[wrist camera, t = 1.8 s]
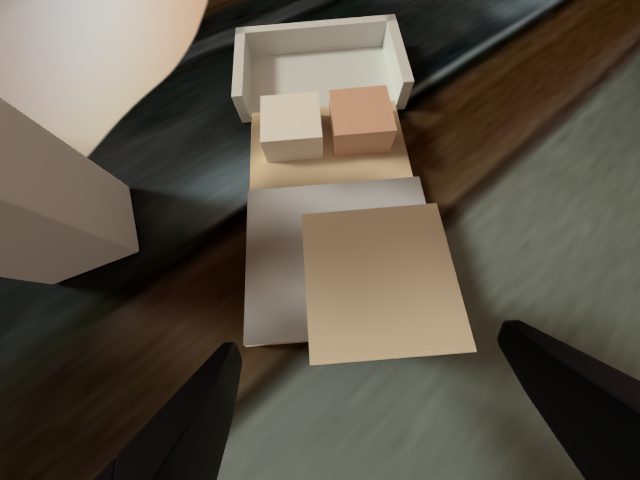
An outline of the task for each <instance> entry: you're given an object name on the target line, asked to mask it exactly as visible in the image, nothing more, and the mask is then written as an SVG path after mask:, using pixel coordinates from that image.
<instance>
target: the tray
mask: <svg viewBox="0 0 640 480" xmlns="http://www.w3.org/2000/svg"><path fill="white" fill-rule="evenodd" d="M413 84H414V78H413V75H412V71H411V68H410V64H409V61H408V57H407V54H406V51H405V47H404V44H403V40H402V37H401V34H400V30H399V27H398V23H397V20H396V17H395V14H391V15H379V16H368V17H356V18H344V19H332V20H321V21H309V22H297V23H285V24H274V25H262V26H250V27H239V28H236V33H235V48H234V63H233V78H232V93H231V97H232V100H233V102H234V104H235V107H236V109H237V111H238V114H239V116H240V119H241V121H242V123H244V122H252V113H257V112H260V96H266V95H278V94H290V93H302V92H314V91H318V96H319V106H320V107H328V106H329V90H334V89H346V88H358V87H370V86H381V85H387V89H388V93H389V98H390V101H395V105H396V109H397V110H399V109H405V106H406V104H407V101H408V98H409V95H410V93H411V90H412V87H413Z"/></svg>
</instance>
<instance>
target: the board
mask: <svg viewBox="0 0 640 480" xmlns="http://www.w3.org/2000/svg"><path fill="white" fill-rule="evenodd" d="M390 102H391V106H392V110H393V114H394V119H395V123H396V127H397V133H396V135H395V138H394V141H393V144H392V147H391V149H390V152H383V153H371V154H359V155H347V156H335V157H334V155H333V146H332V138H331V129H330V120H329V106H328V107H320V116H321V126H322V136H323V158H315V159H303V160H291V161H279V162H267V160H266V157H265V155H264V152H263V149H262V147H261V144H260V112H257V113H252V123H251V161H250V190H261V189H273V188H285V187H298V186H310V185H322V184H334V183H346V182H358V181H370V180H382V179H394V178H406V177H413V175H412V170H411V166H410V162H409V158H408V154H407V150H406V146H405V142H404V138H403V134H402V130H401V125H400V121H399V117H398V113H397V109H396V105H395V101H390ZM299 342H309V341H295V342H283V343H271V344H258V345H246V347H250V346H263V345H275V344H287V343H299Z"/></svg>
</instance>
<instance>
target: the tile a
mask: <svg viewBox="0 0 640 480" xmlns="http://www.w3.org/2000/svg"><path fill="white" fill-rule="evenodd" d="M260 144H261V147H262V149H263V152H264V155H265V157H266V160H267V162H279V161H291V160H303V159H315V158H323V136H322V126H321V116H320V106H319V96H318V91H314V92H302V93H290V94H278V95H266V96H260Z"/></svg>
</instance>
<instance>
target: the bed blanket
mask: <svg viewBox="0 0 640 480" xmlns="http://www.w3.org/2000/svg"><path fill="white" fill-rule="evenodd" d="M295 341H309V359H310V365H321V364H334V363H346V362H358V361H371V360H383V359H396V358H408V357H420V356H433V355H445V354H457V353H470V352H477V350H476V346H475V342H474V339H473V335H472V331H471V328H470V324H469V320H468V317H467V313H466V309H465V306H464V302H463V298H462V295H461V291H460V287H459V284H458V280H457V276H456V272H455V269H454V265H453V261H452V258H451V254H450V250H449V247H448V243H447V239H446V236H445V232H444V228H443V225H442V221H441V217H440V214H439V210H438V206H437V203H432V204H426V202H425V198H424V194H423V190H422V186H421V182H420V178H419V176H418V177H406V178H394V179H382V180H370V181H358V182H346V183H334V184H322V185H310V186H298V187H285V188H273V189H261V190H249V191H248V205H247V239H246V273H245V308H244V342H243V346H246V345H258V344H271V343H283V342H295Z"/></svg>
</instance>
